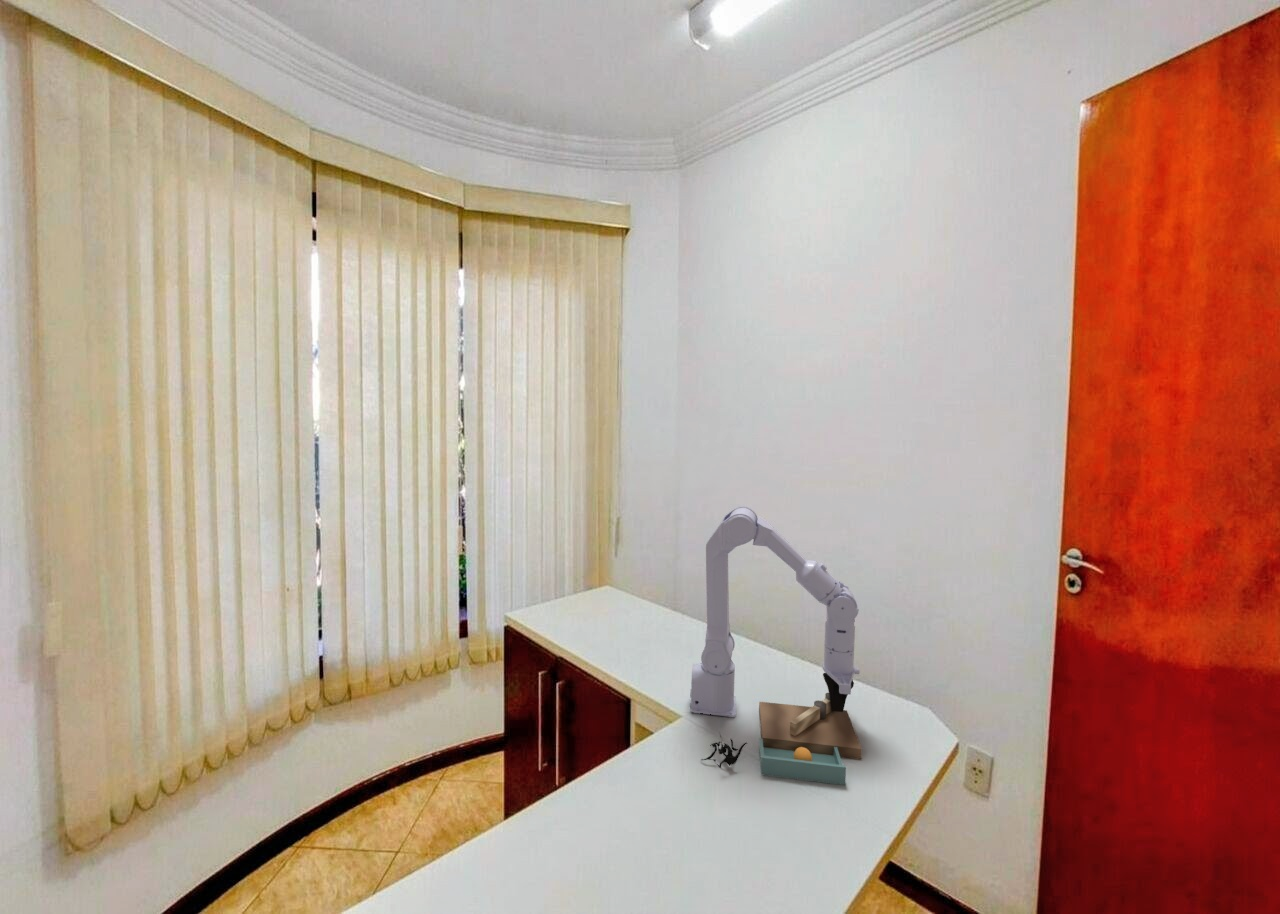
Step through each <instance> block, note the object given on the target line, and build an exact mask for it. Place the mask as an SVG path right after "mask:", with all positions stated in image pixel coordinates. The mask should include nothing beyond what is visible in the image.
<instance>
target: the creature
mask: <svg viewBox="0 0 1280 914" xmlns="http://www.w3.org/2000/svg"><path fill="white" fill-rule="evenodd" d="M718 733H719V735H720V739H721V740H720V741H718V742H713V743H710V745H709V747H712V748H714V750H713V752H712V753H711V754H710V755H709V756H708V757H706V758H702V759H700V760H701V761H707V760H710V761H714V764H716V765H717V767H718V768H722V764H723V763H725V764H727V765H728V766H729V767H731V766H733V765H734V764H736V763H737V761H738V760H739V757H740V756H741V754H742V751H743V749H744V747H745V746H746V745H748V744H749V743H748V742H747V741H746V742H744V743H742V745H740V747H739V748H735V747H734V745H733V744H734V743H733V742H734V741H733V739H732V738H729V739H730V743H731V746H730V745H729V744H727V743H725V742H724V740H723V738H722V735H721V732H718ZM720 745H721V746H720ZM717 751H718V754H719V755H723V756H724V759H723V760H722V761H721V762H720V764H718V763H717V762H716V761H717V759H712V758H713V757H714V756H715V754H716V752H717ZM733 751H734V752H737V751H738V752H737V753H736V754H735V755H734V754H733ZM726 753H727V754H726Z"/></svg>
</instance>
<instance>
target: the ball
mask: <svg viewBox="0 0 1280 914" xmlns="http://www.w3.org/2000/svg"><path fill="white" fill-rule="evenodd" d="M794 759H795V760H804V761H812V755H811V753H810V751H809V750H808V749H806V748H804V747H799V748H797V749H796V750H795V752H794Z"/></svg>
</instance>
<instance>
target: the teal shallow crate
mask: <svg viewBox="0 0 1280 914" xmlns="http://www.w3.org/2000/svg"><path fill="white" fill-rule="evenodd" d="M758 741H759V742H758V744H759V745H758V751H759V752H758V753H759V762H760V763H759V764H760V775H761V776H768V777H775V778H777V777H778V778H783V779H784V778H785V779H793V780H801V781H807V782H808V781H809V782H816V783H826V784H830V785H831V784H832V785H833V784H834V785H839V786H841V785H842V786H846V775H847V774H846V773H847V766H846V765H844V764H843V762H842V759H841V758H842V757H840V755H839V751H838V748H837V747H834V754H833V755H826V754H817V753H811V755H812V761H804V760H795V759H794V752H795V751H792V750H783V749H774V748H766V747H763V739H761V737H759V739H758Z"/></svg>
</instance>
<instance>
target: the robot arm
mask: <svg viewBox="0 0 1280 914" xmlns="http://www.w3.org/2000/svg"><path fill="white" fill-rule="evenodd" d="M751 541H753V542H752V545H753V546H756V547H766V548H768V549H769V550H770V551H771V552H773V553H774V555H776V556H777V557H779V559H780V560H782V561H783V562H784V563H785V564H786V565H788V566H789V567H790V568H791V569H792V570H794V571H795V579H796V582H797V583H798V584H799V585H801V587H803V588H804V589H805V590H806V591H807V592H808V593H809V594H810V595H811V596H812V597H813V598H814V599H815V600H816V601H817V602H818V603H821V604H823V605H825V606H826V620H825V623H824V643H823V644H824V645H823V646H824V647H823V648H824V649H823V651H824V652H823V663H822V670H823V671H824V672H823V673H822V676H823V679H824V681H825V684H826V687H827V691H828V693H829V698H830V705H831V708H832V711H836V712H843V710H844V709H845V705H846V701H847V697H848V695H850V696H851V693H852V688H854V685H855V681H854V679H853V678H854V676H855V675H860V672H861V671H860V668H859V667H858V666H854V665H855V663H854V662H855V640H856V639H855V638H856V634H855V633H856V626H855V622H856V617H858V614H859V611H860V610H859V608H858V604H857V601H856V599H855V597H854V595H853V592H852V591H851V590H850V589H849V587H848V586H847V585H845V583H844V582H843V581H841V580H839V581H838V579H836V578H835V577H834V576H833V575H832V574H831V573H830V572H829V571H828V570H827V569H828V568H827V565H825V564H824V563H823V562H821V563H819V562H817V560H809V559H806V558H804V557H803V556H802V554H800V552H799V551H798V550H797V549H796V548H794V546H793V545H792V544H791V543H789V542H788V541H787V540H786V538H784V537H783V536H782V534H781V533H779V532H778V530H777V529H775V528H774V527H773V526H772V525H771V524H770V522H768V521H767V520H765V518H763V517H762V516H760V515H758V514H757V513H756V512H755V511H754V510H753V509H752V508H751V507H747V506H738V507H735V508H734V509H732V510H731V511H729V512H728V513H726V514H725V515H724V517H723V519H722V520H721V522H720V523H718V525H717V527H716V529H715V530H714V532H713V533H712V534H711V536H710V537H709V538H708V540H707V542H706V544H705V577H706V578H705V580H706V581H705V582H706V585H705V586H706V632H705V645H704V649H703V651H702V653H701V655H700V659H701V663H692V666H691V667H692V669H691V682H690V683H691V688H690V697H689V698H690V712H691V713H692V712H694V713H693V714H700V713H703V714H702V715H710V714H711V715H713V716H722V717H731V718H735V717H736V715H737V714H736V713H737V710H736V709H737V708H736V705H737V704H736V696H735V678H736V677H735V675H736V674H735V670H736V666H735V663H734V661H733V660H732V657H733V651H735V649H734V648H735V639H734V637H733V636H732V635H733V634H732V633H731V632H732V631H731V624H730V611H729V610H730V609H729V607H730V605H729V603H730V602H729V601H730V600H729V599H730V598H729V554H730V553H731V552H732V551H733V550H735V549H736V548H737V547H739V546H742V545H745V544H747V543H749V542H751ZM711 715H710V716H711Z"/></svg>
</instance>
